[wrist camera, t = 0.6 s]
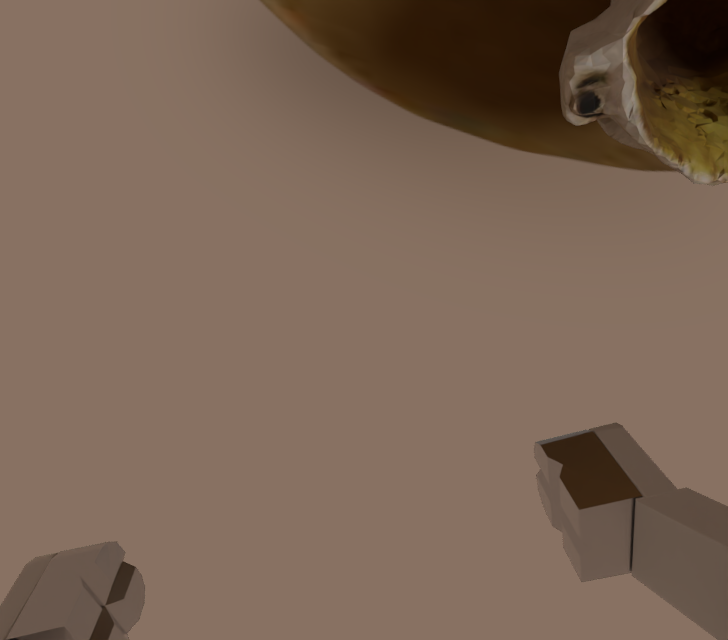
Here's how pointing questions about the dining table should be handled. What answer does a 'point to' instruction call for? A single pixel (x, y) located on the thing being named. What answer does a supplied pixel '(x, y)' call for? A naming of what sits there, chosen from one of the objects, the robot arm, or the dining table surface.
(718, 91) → the ceramic vessel
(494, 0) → the dining table surface
